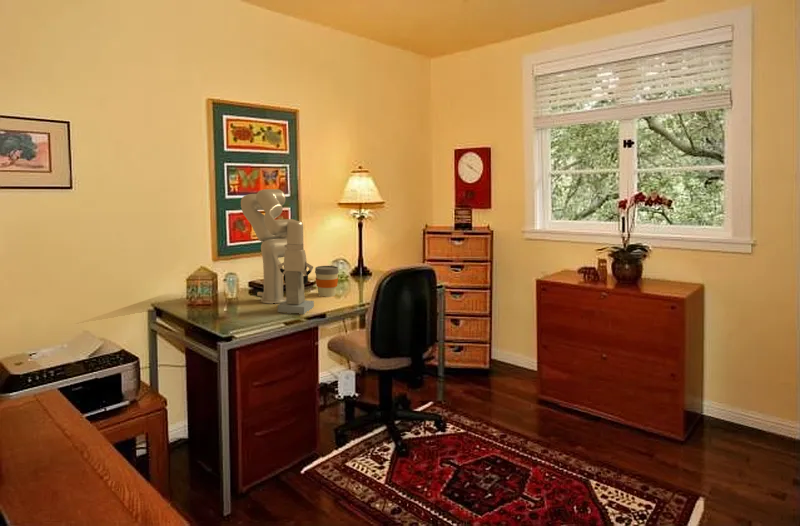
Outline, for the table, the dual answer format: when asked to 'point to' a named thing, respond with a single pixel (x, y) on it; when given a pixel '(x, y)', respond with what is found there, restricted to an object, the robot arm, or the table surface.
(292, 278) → the skincare box
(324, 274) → the reusable coffee cup
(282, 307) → the slate block
